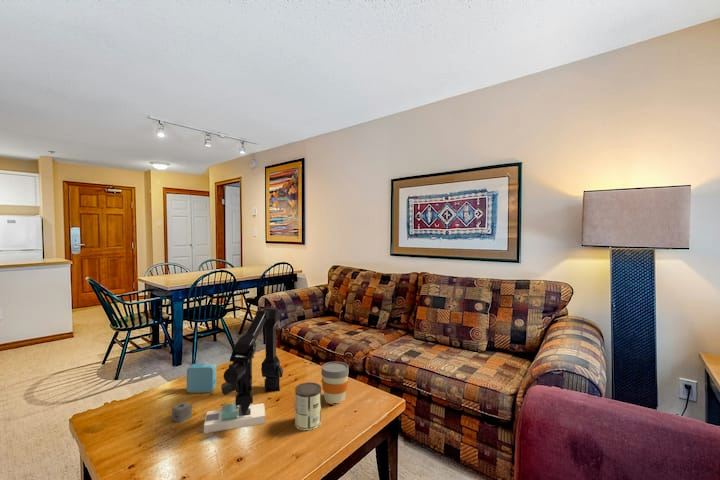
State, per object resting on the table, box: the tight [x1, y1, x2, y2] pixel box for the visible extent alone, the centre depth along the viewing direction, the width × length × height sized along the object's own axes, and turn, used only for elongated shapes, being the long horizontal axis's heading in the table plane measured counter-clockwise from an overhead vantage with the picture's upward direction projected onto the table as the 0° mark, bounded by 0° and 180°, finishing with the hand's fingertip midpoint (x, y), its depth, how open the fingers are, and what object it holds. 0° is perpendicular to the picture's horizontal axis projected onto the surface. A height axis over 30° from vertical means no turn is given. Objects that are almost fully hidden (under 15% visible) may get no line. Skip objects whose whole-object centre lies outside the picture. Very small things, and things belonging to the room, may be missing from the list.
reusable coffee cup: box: [321, 361, 350, 403], centre depth 149 cm, size 13×13×15 cm
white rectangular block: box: [238, 405, 249, 416], centre depth 132 cm, size 4×4×6 cm
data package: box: [186, 363, 217, 394], centre depth 156 cm, size 12×4×12 cm, turn 93°
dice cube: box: [171, 401, 193, 424], centre depth 132 cm, size 5×5×5 cm
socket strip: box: [203, 403, 266, 434], centre depth 131 cm, size 22×10×3 cm, turn 109°
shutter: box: [221, 402, 238, 420], centre depth 130 cm, size 6×7×2 cm
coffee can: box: [294, 382, 322, 431], centre depth 130 cm, size 10×10×14 cm
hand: (243, 411), depth 132 cm, fingers open, 6 cm apart
